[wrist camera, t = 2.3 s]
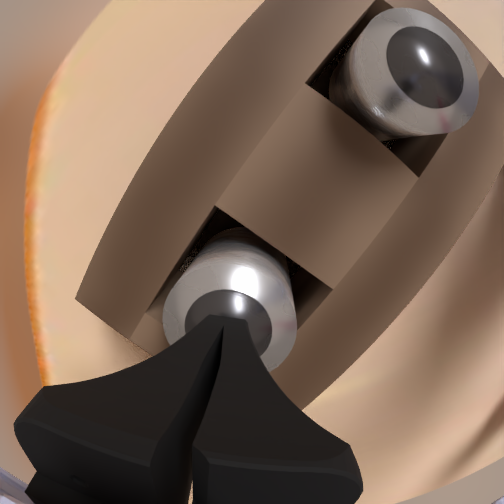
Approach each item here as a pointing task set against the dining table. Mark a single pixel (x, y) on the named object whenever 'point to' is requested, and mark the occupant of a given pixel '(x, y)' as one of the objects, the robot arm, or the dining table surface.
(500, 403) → the dining table surface
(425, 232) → the housing
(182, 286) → the knob
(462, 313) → the dining table surface
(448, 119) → the knob
